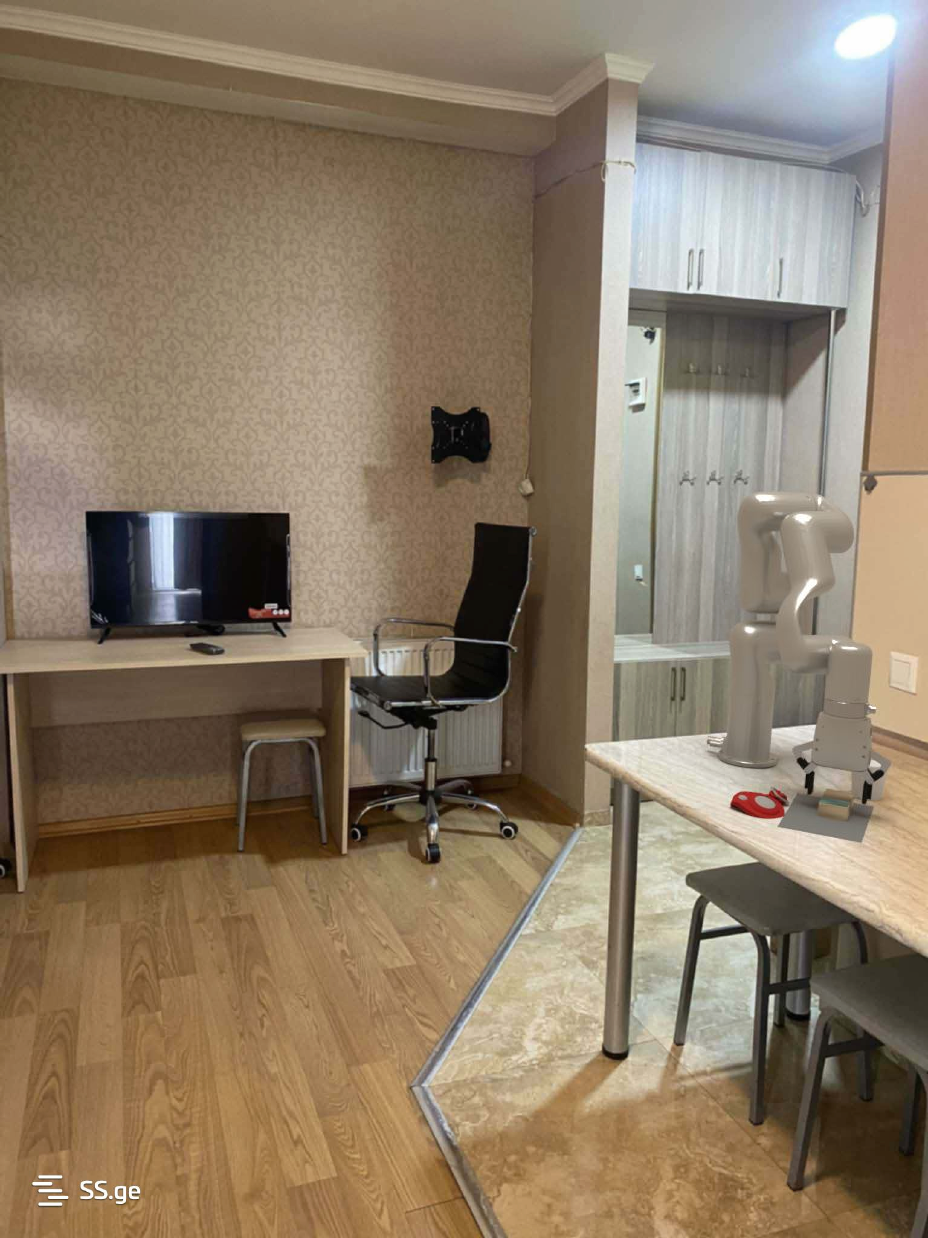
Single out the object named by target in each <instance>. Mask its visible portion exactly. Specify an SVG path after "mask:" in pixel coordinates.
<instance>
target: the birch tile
mask: <svg viewBox="0 0 928 1238" xmlns="http://www.w3.org/2000/svg"><path fill="white" fill-rule="evenodd" d="M821 797H822V798H821V800H820V802H819V808H818V816H821V817H826V818H831V819H837V820H842V821H847V819H848V817H849V814H850V812H851V810H852V807H853V803H855V802H854V799H855V797H854V793H851V792H849V791H842V790H836V789H831V788H830V789H829V788H826V790H825V791H824V792H823V795H822V796H821Z"/></svg>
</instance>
